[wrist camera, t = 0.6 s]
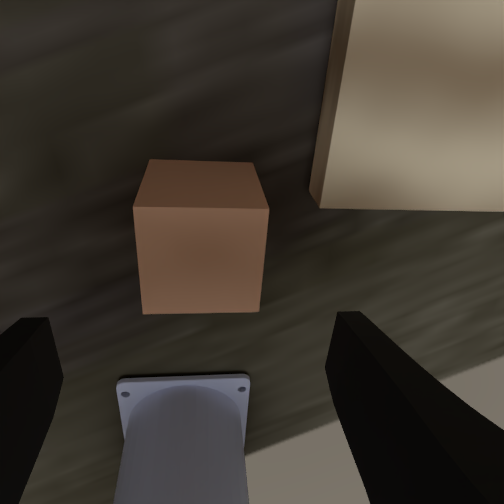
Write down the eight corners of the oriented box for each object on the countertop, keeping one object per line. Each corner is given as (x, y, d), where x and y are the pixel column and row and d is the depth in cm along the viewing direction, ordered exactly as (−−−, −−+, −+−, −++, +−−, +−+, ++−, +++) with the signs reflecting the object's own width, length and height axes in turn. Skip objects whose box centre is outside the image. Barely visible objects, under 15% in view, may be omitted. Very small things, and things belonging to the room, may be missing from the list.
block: (246, 248, 20) (259, 312, 15) (155, 248, 19) (142, 314, 15) (252, 162, 17) (269, 209, 13) (149, 158, 17) (132, 206, 13)
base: (500, 195, 20) (529, 212, 18) (308, 190, 18) (319, 208, 17) (606, -54, 14) (660, -64, 13) (350, -85, 13) (372, -100, 12)
